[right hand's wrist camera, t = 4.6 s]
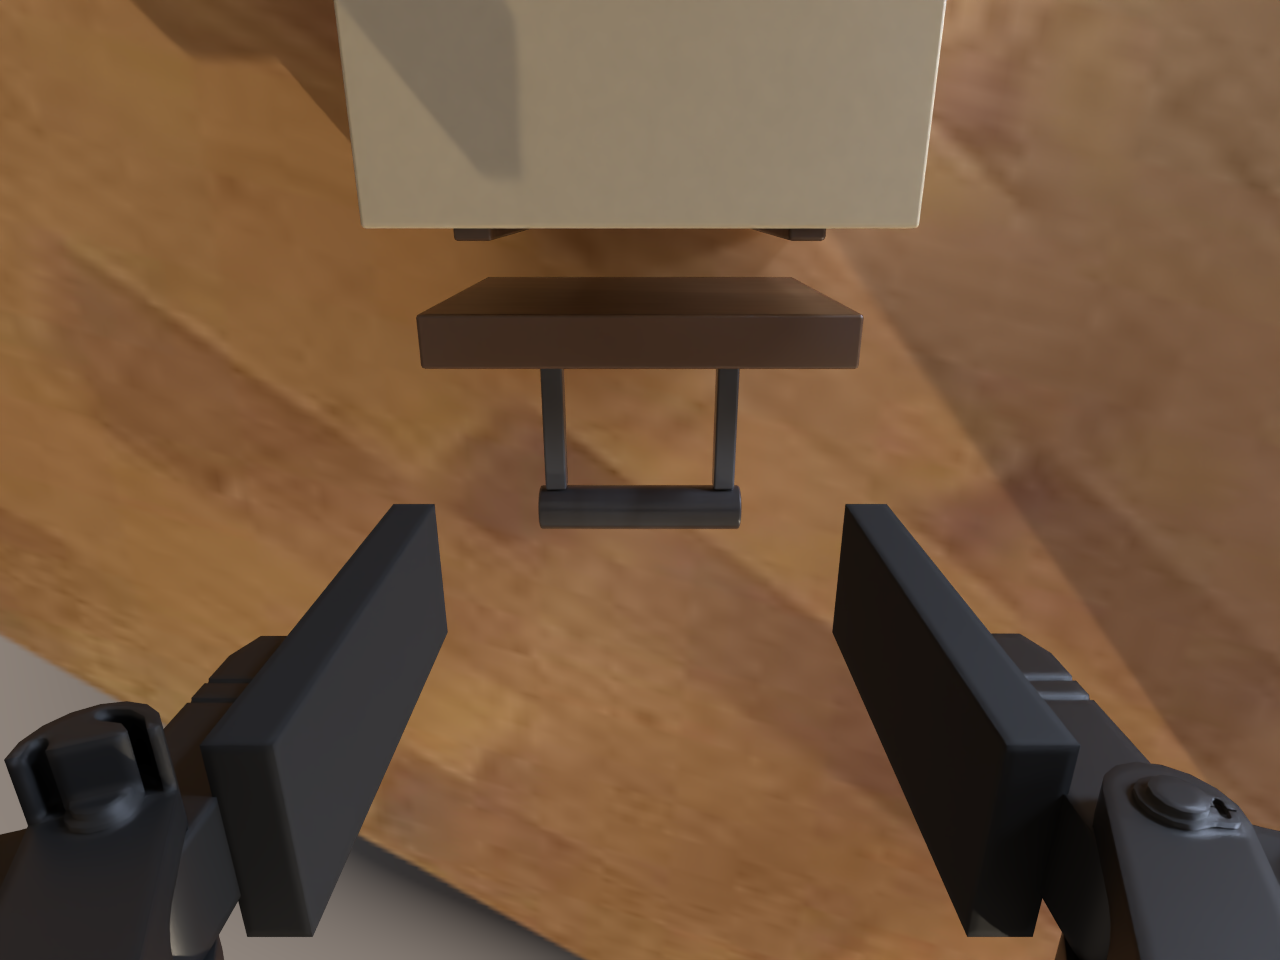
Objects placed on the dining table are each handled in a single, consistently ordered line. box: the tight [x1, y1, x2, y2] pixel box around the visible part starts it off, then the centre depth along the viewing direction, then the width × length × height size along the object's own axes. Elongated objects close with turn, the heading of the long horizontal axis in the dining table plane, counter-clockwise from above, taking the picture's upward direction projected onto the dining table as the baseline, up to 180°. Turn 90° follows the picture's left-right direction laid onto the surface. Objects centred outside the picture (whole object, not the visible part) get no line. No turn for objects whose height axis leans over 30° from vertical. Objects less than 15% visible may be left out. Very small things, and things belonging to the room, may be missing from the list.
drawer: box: [416, 228, 863, 529], centre depth 18 cm, size 23×10×8 cm, turn 0°
